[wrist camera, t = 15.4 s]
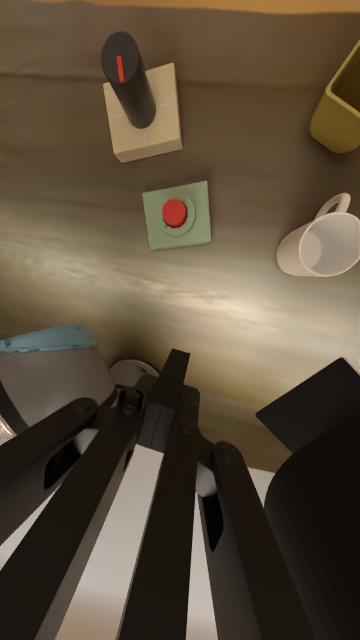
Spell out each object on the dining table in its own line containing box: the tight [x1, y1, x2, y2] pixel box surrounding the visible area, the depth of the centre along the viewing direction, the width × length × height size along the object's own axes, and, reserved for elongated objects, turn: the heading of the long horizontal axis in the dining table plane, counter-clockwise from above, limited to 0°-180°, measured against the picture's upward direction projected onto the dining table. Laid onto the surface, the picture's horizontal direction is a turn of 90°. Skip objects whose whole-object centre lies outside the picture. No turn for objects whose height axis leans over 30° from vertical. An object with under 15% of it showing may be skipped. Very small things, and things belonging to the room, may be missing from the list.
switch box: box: [142, 181, 211, 251], centre depth 35 cm, size 12×10×4 cm
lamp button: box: [162, 199, 186, 227], centre depth 33 cm, size 4×4×2 cm
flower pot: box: [309, 40, 360, 154], centre depth 26 cm, size 9×9×9 cm
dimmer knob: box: [101, 31, 156, 129], centre depth 27 cm, size 5×5×8 cm
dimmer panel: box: [103, 63, 183, 163], centre depth 33 cm, size 12×10×3 cm
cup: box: [276, 193, 360, 277], centre depth 30 cm, size 8×12×10 cm
